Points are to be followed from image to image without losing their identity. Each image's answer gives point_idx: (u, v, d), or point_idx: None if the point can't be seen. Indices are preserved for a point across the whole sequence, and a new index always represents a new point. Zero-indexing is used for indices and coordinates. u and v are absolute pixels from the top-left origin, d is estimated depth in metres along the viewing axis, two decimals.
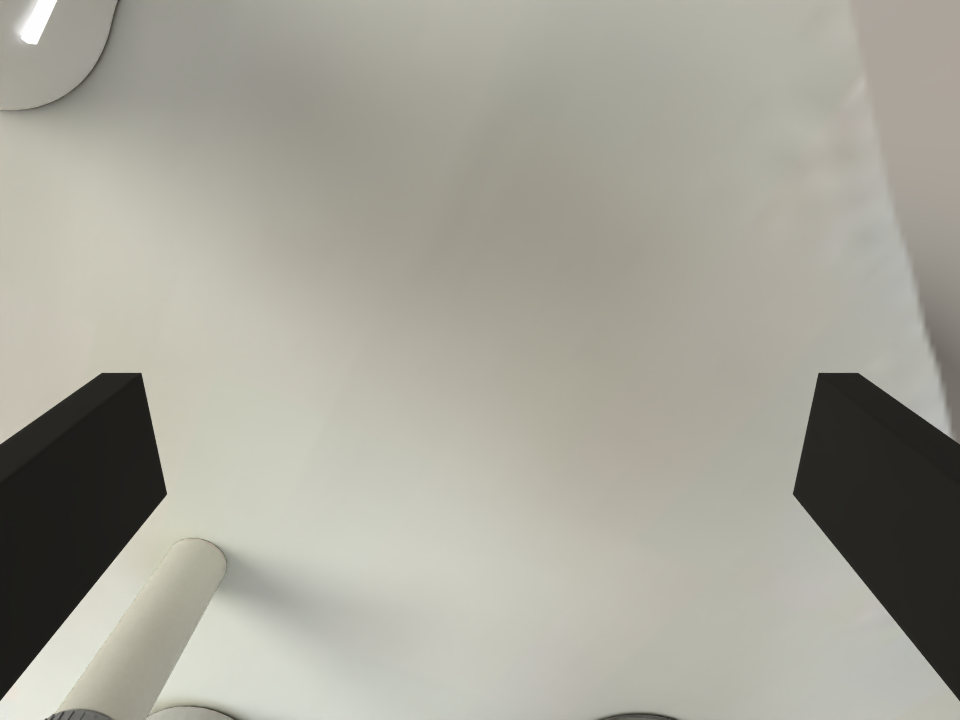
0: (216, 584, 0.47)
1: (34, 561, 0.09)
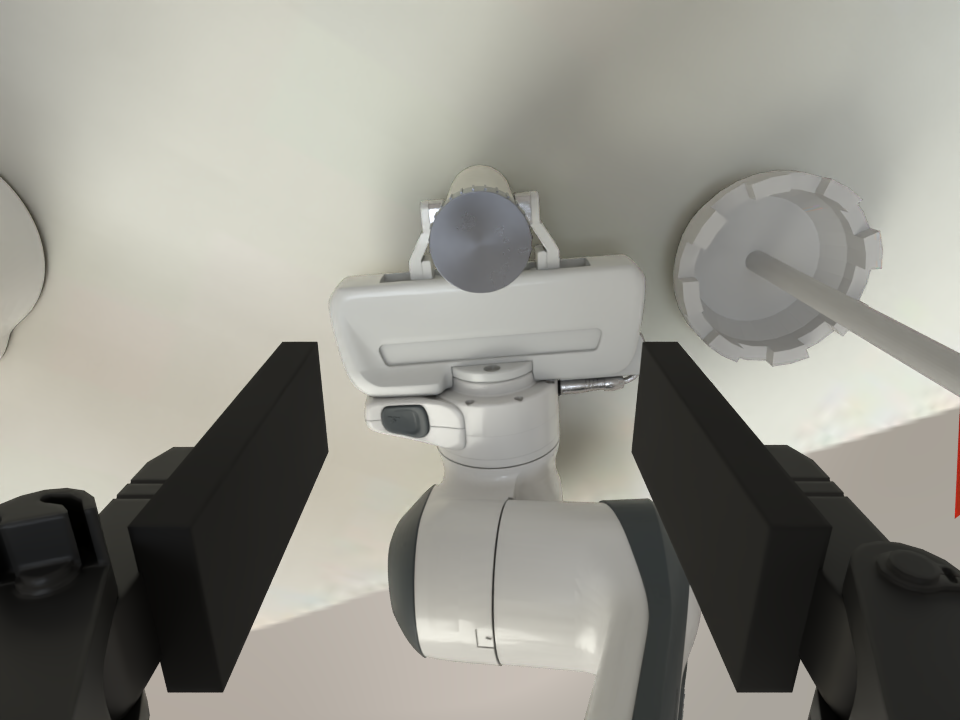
0: (486, 168, 0.43)
1: (274, 493, 0.11)
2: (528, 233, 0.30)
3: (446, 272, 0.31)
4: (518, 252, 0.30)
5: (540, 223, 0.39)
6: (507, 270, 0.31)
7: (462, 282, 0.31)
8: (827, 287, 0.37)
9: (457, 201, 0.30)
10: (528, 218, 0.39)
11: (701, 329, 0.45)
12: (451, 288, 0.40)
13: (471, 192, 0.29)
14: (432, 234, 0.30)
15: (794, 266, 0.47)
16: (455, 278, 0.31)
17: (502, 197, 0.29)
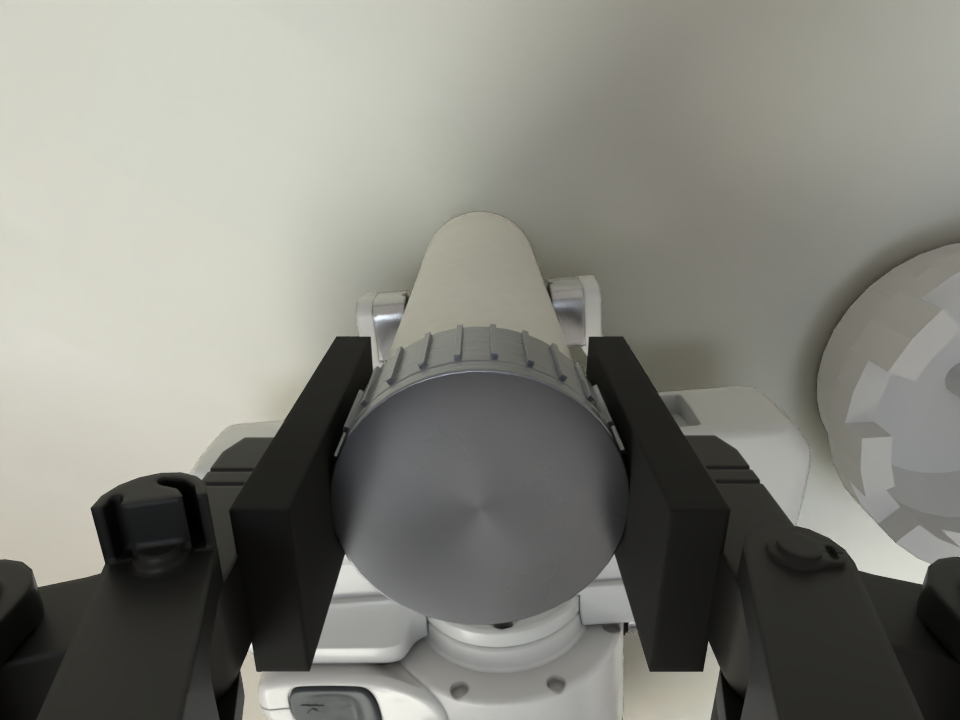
0: (491, 221, 0.23)
1: None
2: (622, 483, 0.10)
3: (383, 578, 0.11)
4: (590, 530, 0.10)
5: None
6: (557, 573, 0.11)
7: (429, 600, 0.11)
8: None
9: (409, 397, 0.10)
10: (578, 335, 0.19)
11: (878, 507, 0.25)
12: None
13: (452, 373, 0.09)
14: (337, 485, 0.10)
15: None
16: (409, 592, 0.11)
17: (548, 387, 0.10)
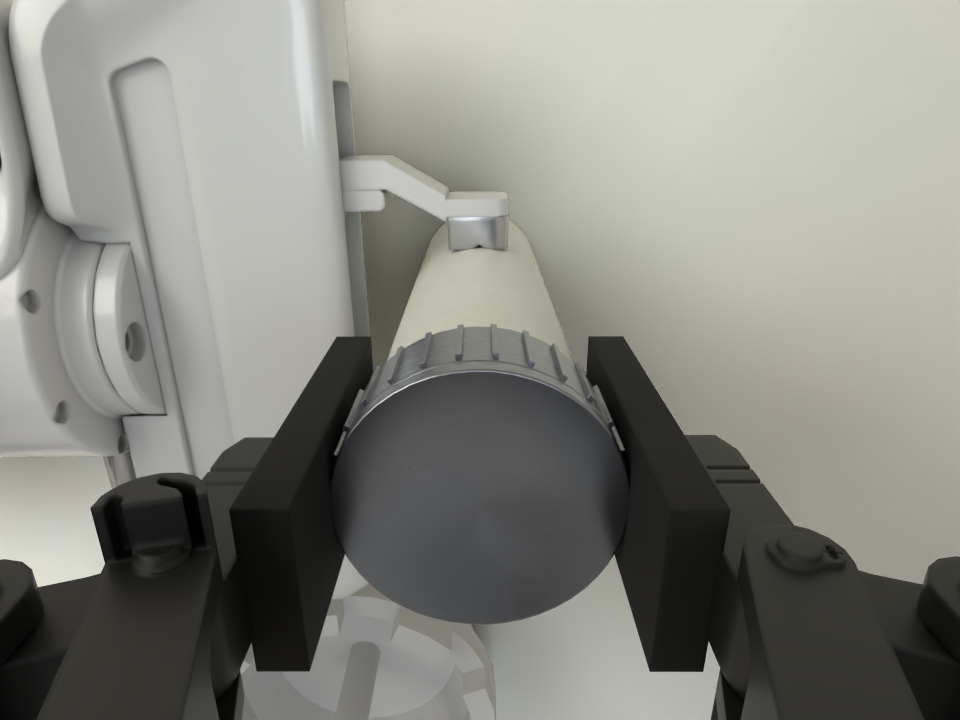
0: None
1: None
2: (622, 483, 0.10)
3: (382, 577, 0.11)
4: (590, 530, 0.10)
5: None
6: (556, 573, 0.11)
7: (428, 600, 0.11)
8: None
9: (409, 397, 0.10)
10: None
11: None
12: (322, 259, 0.18)
13: (452, 372, 0.09)
14: (337, 484, 0.10)
15: None
16: (408, 592, 0.11)
17: (548, 387, 0.10)
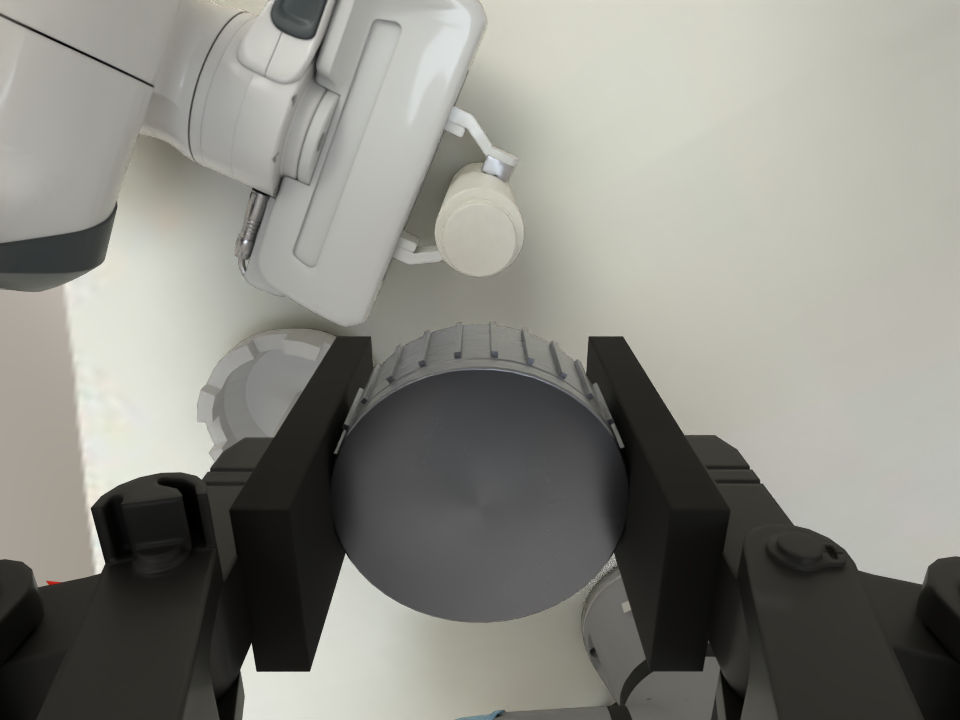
0: None
1: None
2: (622, 481, 0.10)
3: (383, 576, 0.11)
4: (590, 528, 0.10)
5: (441, 259, 0.39)
6: (556, 571, 0.11)
7: (429, 598, 0.11)
8: None
9: (409, 395, 0.10)
10: None
11: (263, 342, 0.44)
12: (425, 146, 0.36)
13: (452, 370, 0.09)
14: (337, 483, 0.10)
15: None
16: (409, 590, 0.11)
17: (548, 385, 0.10)
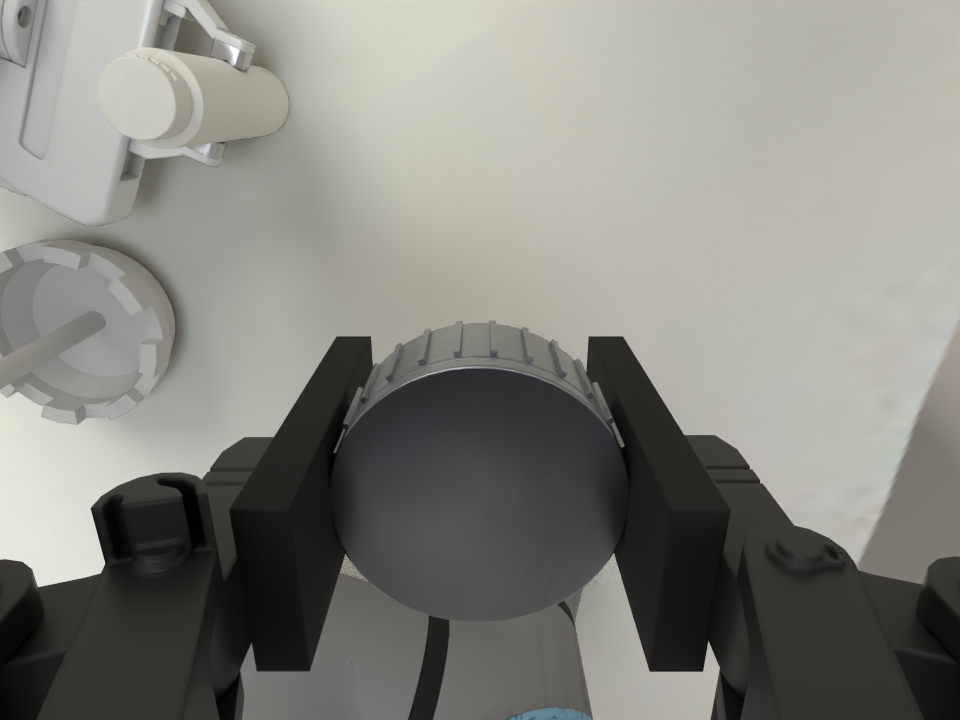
0: (274, 124, 0.42)
1: None
2: (622, 480, 0.10)
3: (382, 575, 0.11)
4: (590, 528, 0.10)
5: (181, 154, 0.38)
6: (556, 571, 0.11)
7: (428, 598, 0.11)
8: (14, 377, 0.39)
9: (408, 394, 0.10)
10: None
11: (27, 251, 0.43)
12: (140, 24, 0.34)
13: (451, 369, 0.09)
14: (336, 482, 0.10)
15: (78, 349, 0.49)
16: (408, 589, 0.11)
17: (548, 384, 0.09)
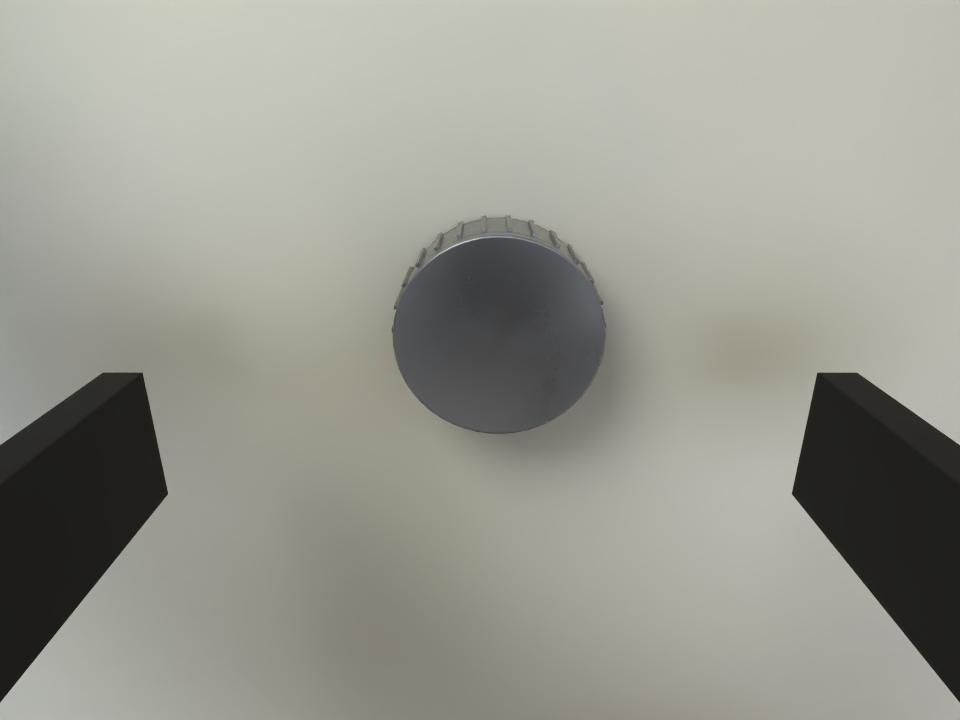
0: None
1: (36, 560, 0.09)
2: (599, 321, 0.14)
3: (429, 395, 0.15)
4: (577, 358, 0.15)
5: None
6: (553, 392, 0.15)
7: (462, 414, 0.15)
8: None
9: (450, 256, 0.14)
10: None
11: None
12: None
13: (480, 238, 0.14)
14: (399, 323, 0.14)
15: None
16: (447, 407, 0.15)
17: (547, 248, 0.14)
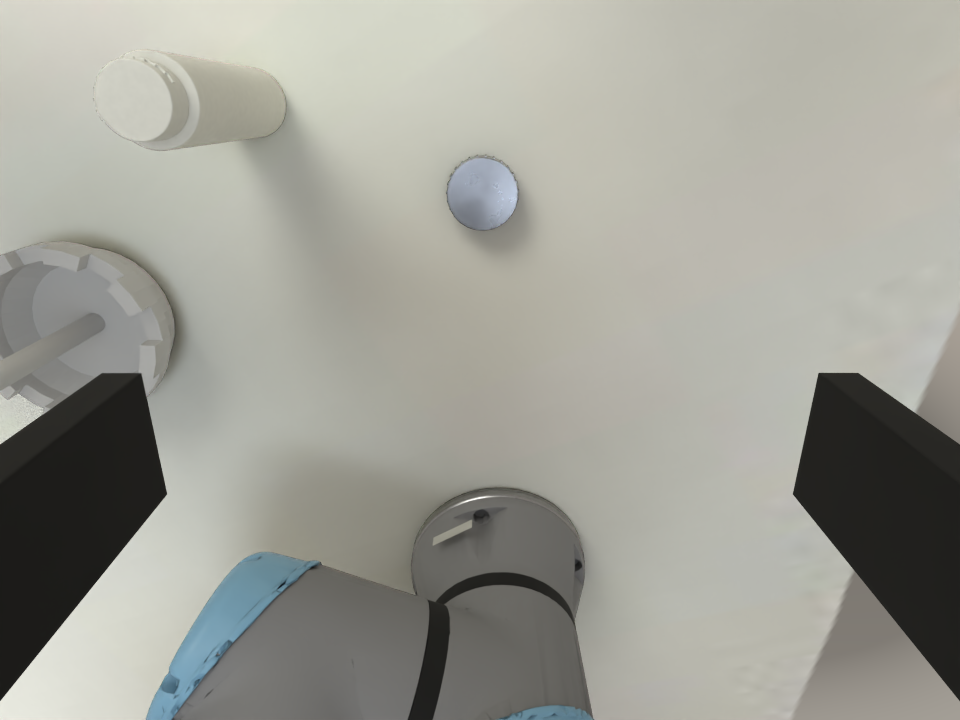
0: (271, 126, 0.42)
1: (34, 561, 0.09)
2: (515, 187, 0.44)
3: (458, 215, 0.44)
4: (508, 201, 0.44)
5: None
6: (501, 213, 0.44)
7: (470, 222, 0.45)
8: (14, 379, 0.39)
9: (466, 165, 0.43)
10: None
11: (26, 253, 0.43)
12: None
13: (476, 158, 0.43)
14: (449, 188, 0.44)
15: (78, 351, 0.49)
16: (465, 219, 0.44)
17: (497, 162, 0.43)
